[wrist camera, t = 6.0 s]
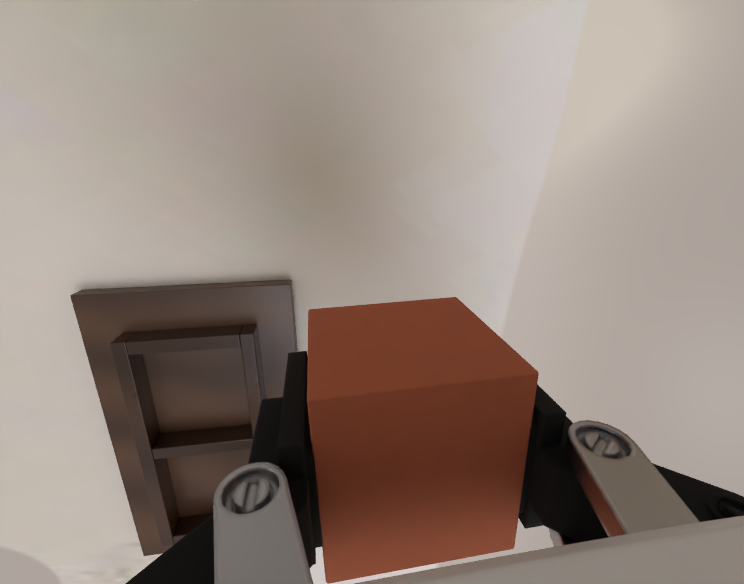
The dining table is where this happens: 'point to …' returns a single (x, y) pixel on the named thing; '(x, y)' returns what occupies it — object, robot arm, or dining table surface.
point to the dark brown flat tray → (184, 388)
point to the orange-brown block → (414, 434)
